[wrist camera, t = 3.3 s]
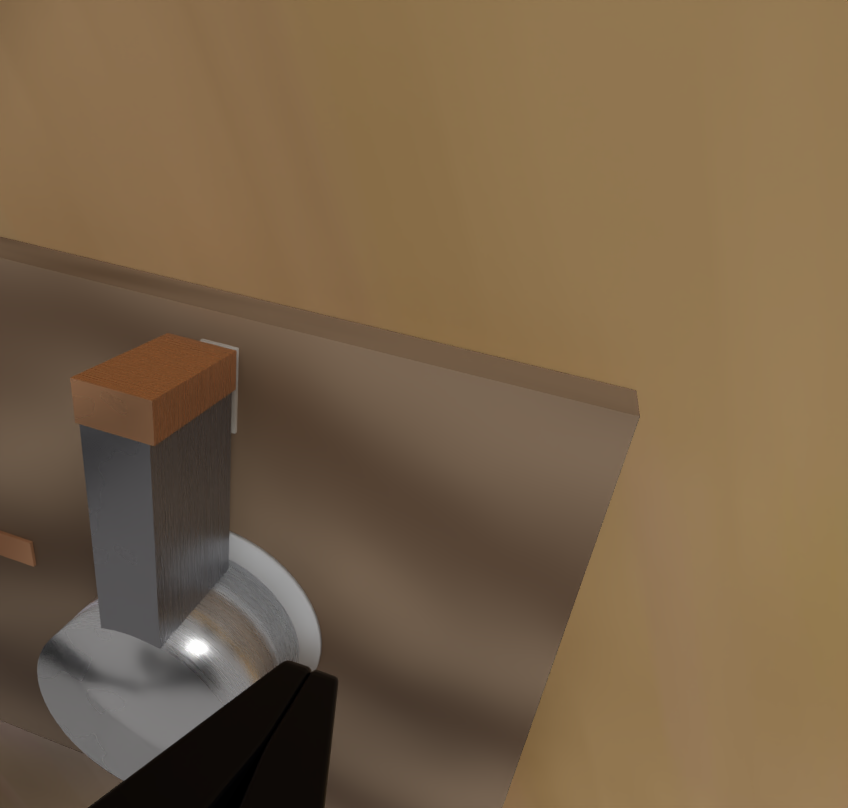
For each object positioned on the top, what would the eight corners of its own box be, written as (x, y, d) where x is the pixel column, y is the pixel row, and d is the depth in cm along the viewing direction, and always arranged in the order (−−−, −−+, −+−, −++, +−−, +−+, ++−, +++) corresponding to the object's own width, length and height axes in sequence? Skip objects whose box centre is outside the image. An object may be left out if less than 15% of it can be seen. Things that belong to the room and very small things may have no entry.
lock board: (475, 862, 23) (466, 913, 22) (29, 690, 26) (-6, 723, 25) (636, 390, 14) (640, 420, 13) (-60, 222, 18) (-121, 230, 16)
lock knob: (293, 724, 19) (238, 828, 17) (129, 664, 20) (50, 752, 18) (326, 367, 14) (253, 429, 11) (100, 310, 15) (-21, 352, 12)
